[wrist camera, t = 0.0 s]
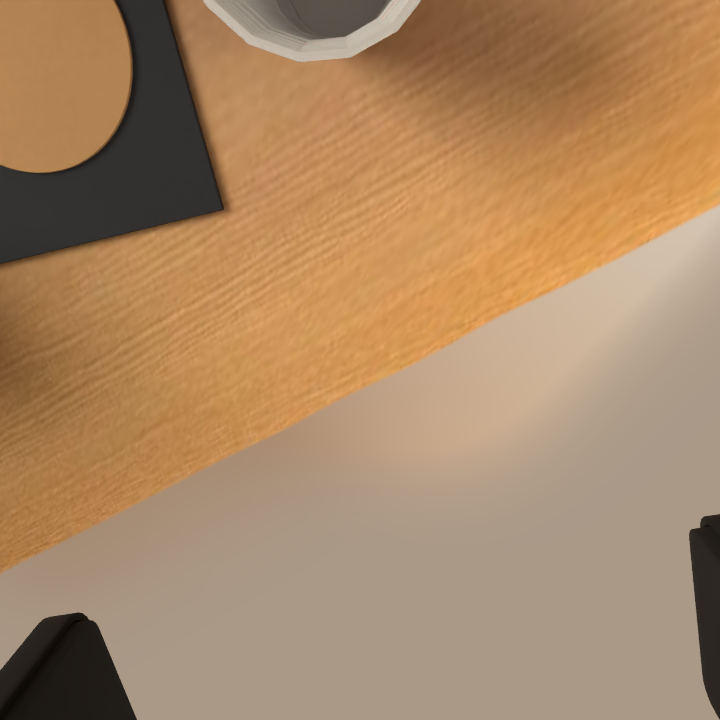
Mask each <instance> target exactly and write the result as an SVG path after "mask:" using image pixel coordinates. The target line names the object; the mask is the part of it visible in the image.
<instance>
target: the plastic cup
mask: <svg viewBox="0 0 720 720" xmlns="http://www.w3.org/2000/svg"><path fill="white" fill-rule="evenodd" d="M420 1H421V0H204V2H205V4H206V6H207V7H208V8H209V9H210V10H211V11H212V12H214V13H215V14H216V15H217V16H218V17H219V18H220V19H221V20H222V21H224V22H225V23H226V24H227V25H228V26H229V27H230V28H231V29H232V30H234V31H235V32H236V33H237V34H238V35H239V36H240V37H241V38H242V39H244V40H245V41H246V42H247V43H248V44H249V45H252V46H255V47H258V48H261V49H263V50H266V51H269V52H272V53H275V54H278V55H280V56H283V57H286V58H289V59H292V60H295V61H297V62H306V61H317V60H328V59H340V58H351V57H352V56H354V55H356V54H358V53H360V52H361V51H363V50H365V49H367V48H368V47H370V46H372V45H374V44H375V43H377V42H379V41H381V40H382V39H384V38H386V37H388V36H390V35H391V34H393V33H395V32H397V31H398V30H399V28H400V27H401V26H402V24H403V23H404V22H405V21H406V19H407V18H408V17H409V16H410V14H411V13H412V12H413V10H414V9H415V8H416V7H417V5H418V4H419V3H420Z"/></svg>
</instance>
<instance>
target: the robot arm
mask: <svg viewBox="0 0 720 720" xmlns="http://www.w3.org/2000/svg"><path fill="white" fill-rule="evenodd" d="M689 541H690V551H691V561H692V571H693V582H694V592H695V602H696V612H697V623H698V633H699V643H700V654H701V664H702V674H703V681H704V685H705V689H706V692H707V694H708V697H709V700H710V702H711V705H712V706H713V708H714V710H715V712H716V714H717V716H718V717H719V719H720V514H718V515H712V516H705V517H703V518H702V519H701V523H700V528H696V529H692V530H690V533H689ZM0 720H137V719H136V717H135V714H134V712H133V709H132V707H131V705H130V702H129V700H128V697H127V695H126V692H125V690H124V688H123V685H122V683H121V680H120V678H119V676H118V673H117V671H116V668H115V666H114V663H113V661H112V659H111V656H110V654H109V652H108V649H107V647H106V644H105V642H104V639H103V637H102V635H101V632H100V630H99V627H98V626H97V624H96V623H95V622H94V621H91V620H89V619H88V618H87V616H85V615H84V614H83V613H72V614H66V615H59V616H53V617H48V618H45V619H43V620H42V621H41V622H40V623H39V624H38V625H37V626H36V627H35V629H34V630H33V631H32V632H31V634H30V635H29V636H28V637H27V638H26V640H25V641H24V642H23V644H22V645H21V646H20V647H19V648H18V649H17V651H16V652H15V653H14V654H13V656H12V657H11V658H10V659H9V661H8V662H7V663H6V665H4V667H3V668H2V669H1V670H0Z"/></svg>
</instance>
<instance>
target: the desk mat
mask: <svg viewBox="0 0 720 720" xmlns="http://www.w3.org/2000/svg"><path fill="white" fill-rule="evenodd" d="M220 210H224V207H223V204H222V200H221V196H220V193H219V189H218V186H217V182H216V179H215V175H214V172H213V168H212V165H211V161H210V158H209V154H208V151H207V147H206V144H205V140H204V137H203V133H202V130H201V126H200V123H199V119H198V116H197V112H196V109H195V105H194V102H193V98H192V95H191V91H190V88H189V84H188V81H187V77H186V74H185V70H184V67H183V63H182V60H181V56H180V53H179V49H178V46H177V42H176V39H175V35H174V32H173V28H172V25H171V21H170V18H169V14H168V11H167V7H166V4H165V0H0V264H1V263H5V262H9V261H14V260H18V259H22V258H26V257H30V256H34V255H38V254H42V253H47V252H51V251H55V250H59V249H63V248H67V247H71V246H75V245H80V244H84V243H88V242H92V241H96V240H100V239H104V238H108V237H112V236H117V235H121V234H125V233H129V232H133V231H137V230H141V229H145V228H150V227H154V226H158V225H162V224H166V223H170V222H174V221H178V220H183V219H187V218H191V217H195V216H199V215H203V214H207V213H211V212H216V211H220Z"/></svg>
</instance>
